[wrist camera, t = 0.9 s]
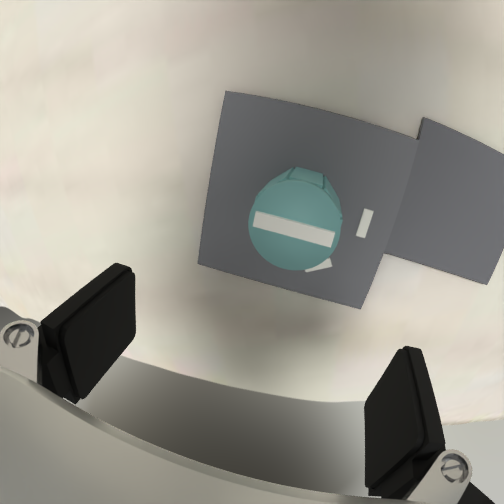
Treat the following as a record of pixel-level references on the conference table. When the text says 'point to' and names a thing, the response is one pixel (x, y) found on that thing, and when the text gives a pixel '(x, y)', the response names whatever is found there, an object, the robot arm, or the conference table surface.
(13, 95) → the conference table surface
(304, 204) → the cap
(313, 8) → the conference table surface
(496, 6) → the conference table surface
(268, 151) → the post plate
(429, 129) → the mat
